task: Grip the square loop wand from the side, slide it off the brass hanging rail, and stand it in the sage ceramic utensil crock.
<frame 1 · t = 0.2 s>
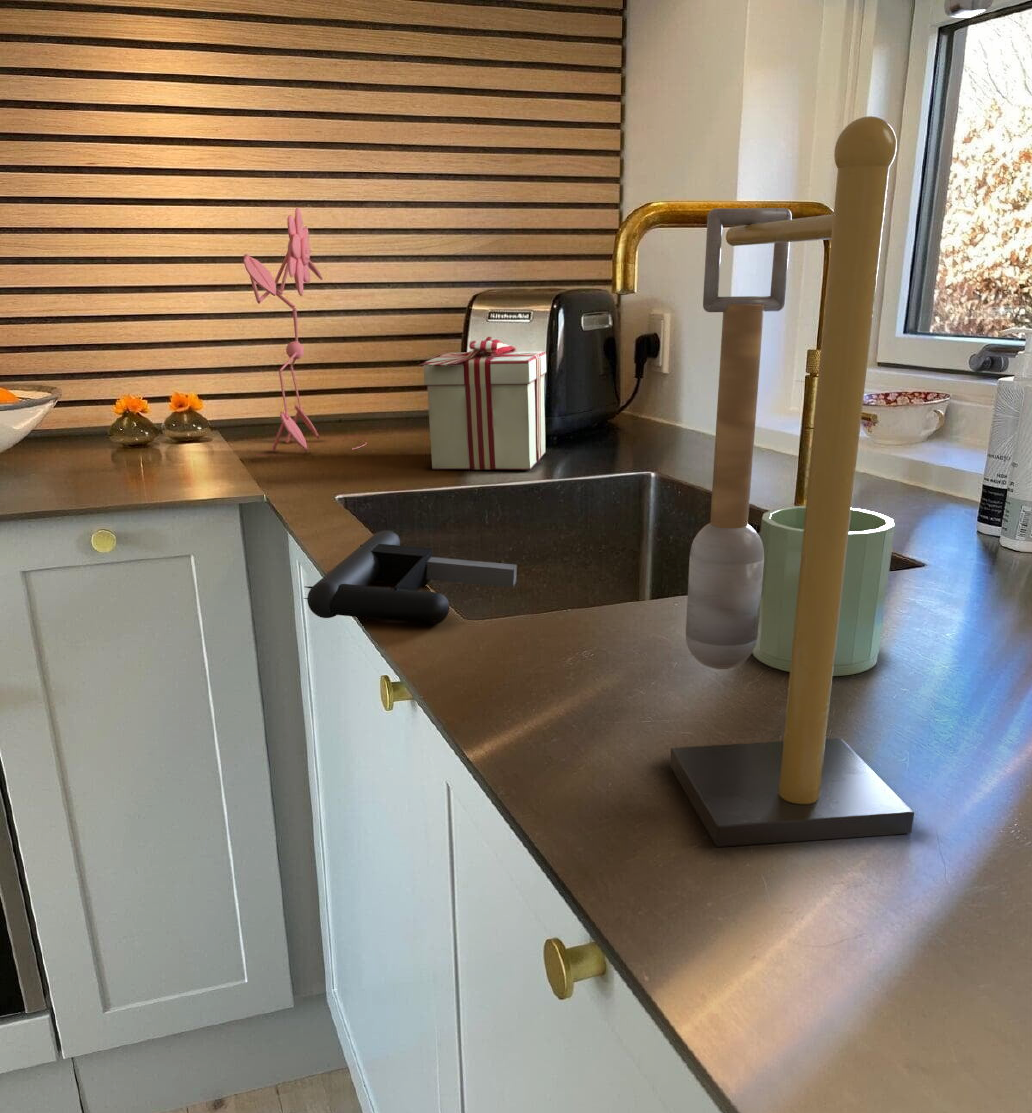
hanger: (782, 798, 56), on the countertop
square loop wand: (719, 667, 65), point 3 cm above the countertop, touching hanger
black frame with bar: (419, 594, 91), on the countertop
figurine: (321, 448, 168), on the countertop
crock: (813, 654, 76), on the countertop
gift box: (480, 464, 153), on the countertop
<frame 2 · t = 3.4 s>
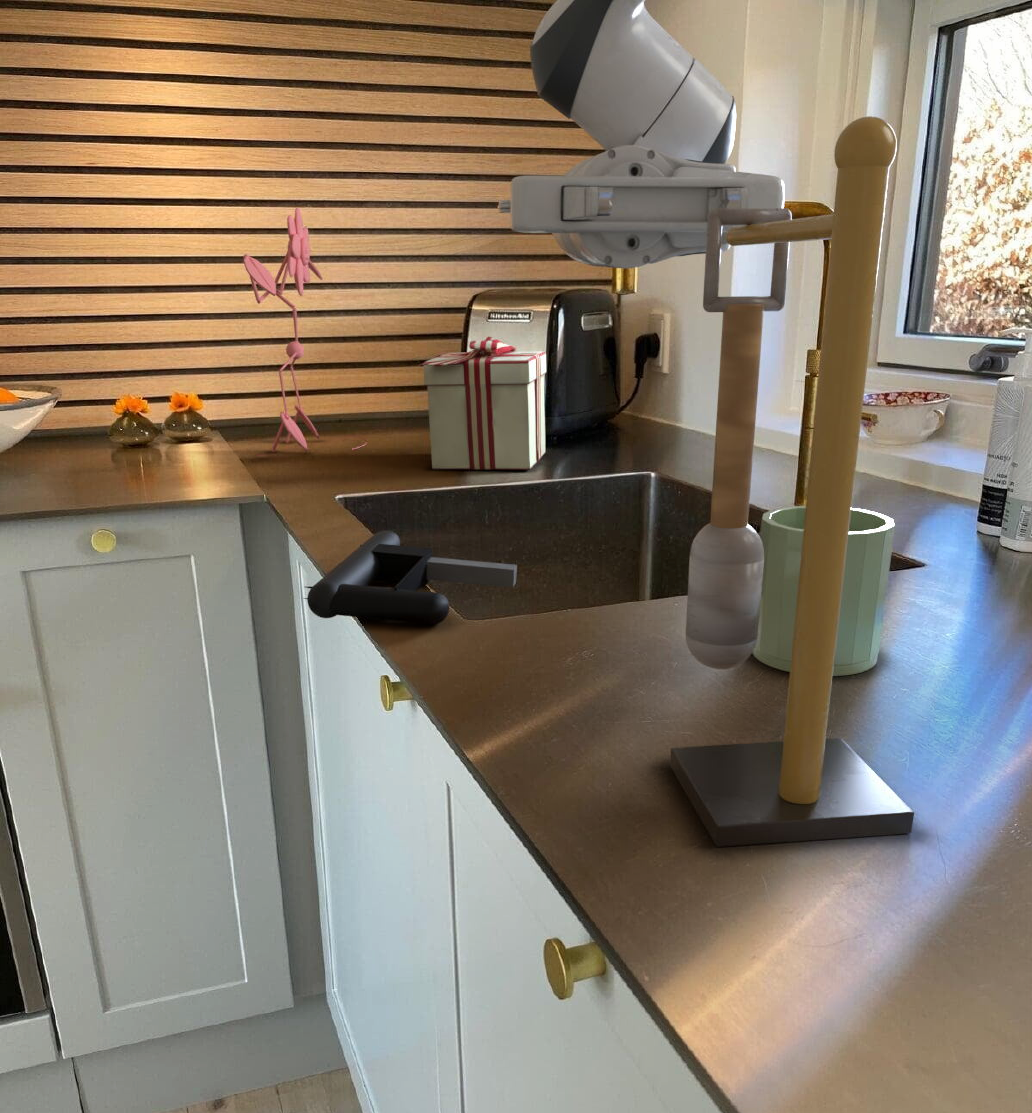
hand: (670, 201, 71), 30 cm above the countertop, tool horizontal, fingers open, 8 cm apart
nothing on the countertop moved.
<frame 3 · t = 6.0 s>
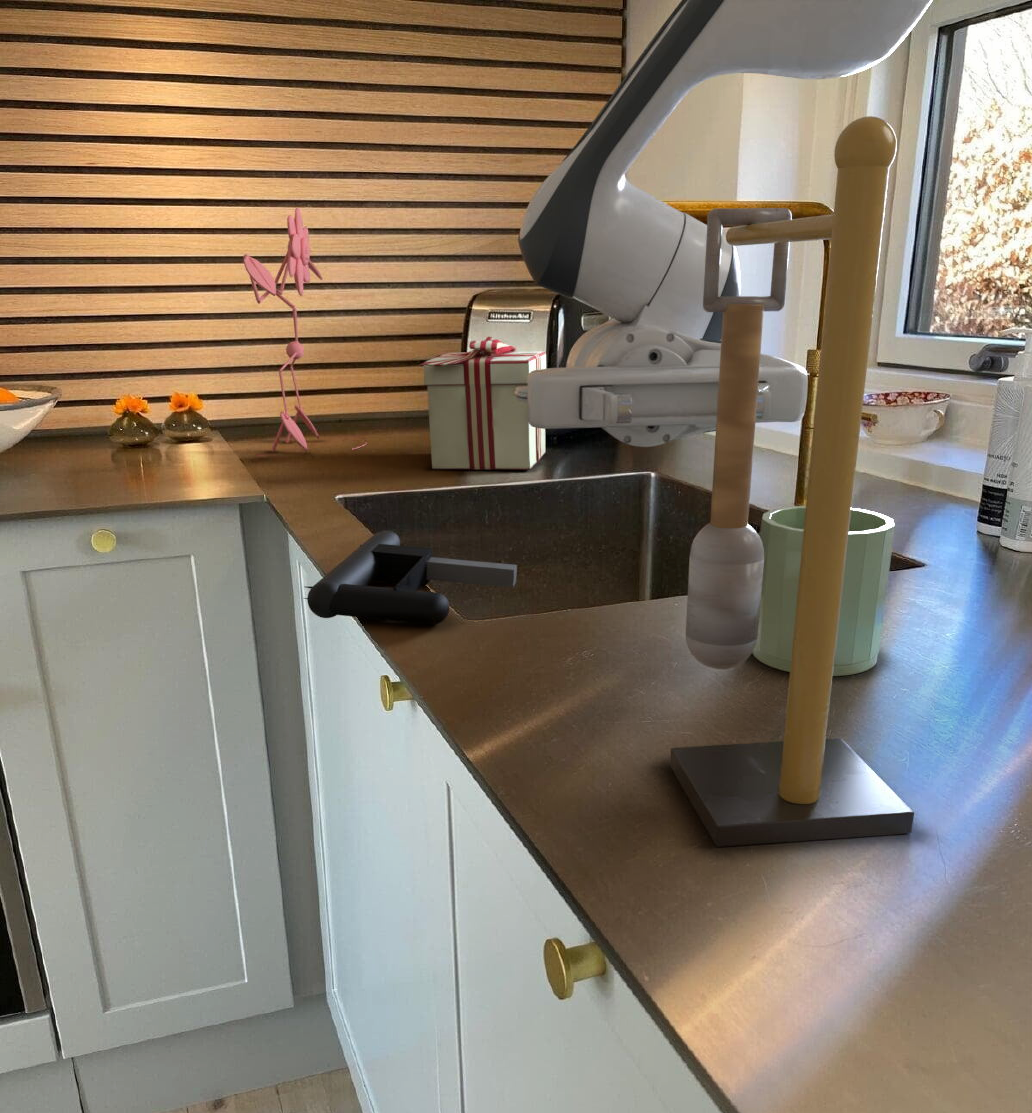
hand: (691, 408, 69), 18 cm above the countertop, tool horizontal, fingers open, 8 cm apart
nothing on the countertop moved.
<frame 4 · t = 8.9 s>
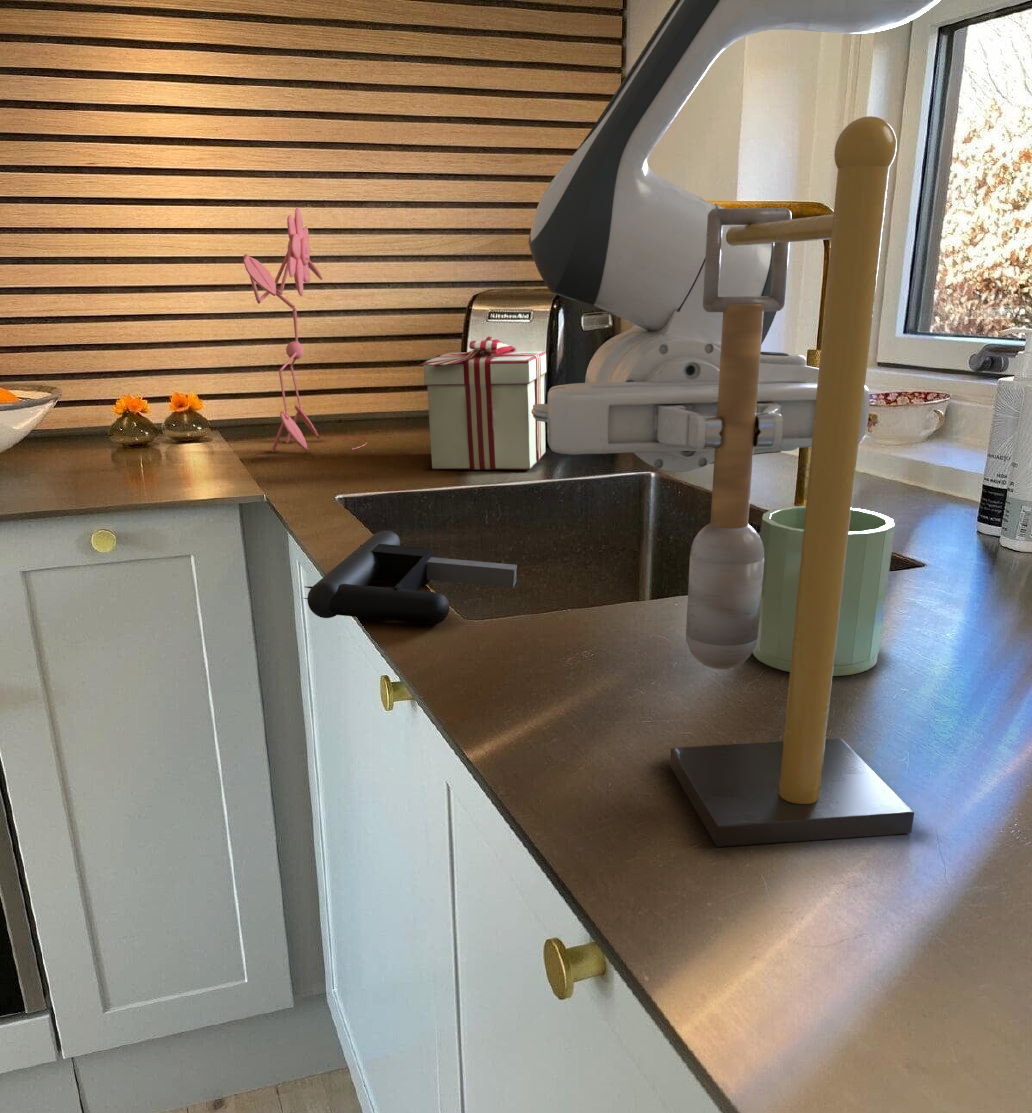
hand: (740, 432, 59), 18 cm above the countertop, tool horizontal, fingers closed on square loop wand, 2 cm apart
square loop wand: (719, 667, 65), point 3 cm above the countertop, touching gripper, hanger
everything else where it was.
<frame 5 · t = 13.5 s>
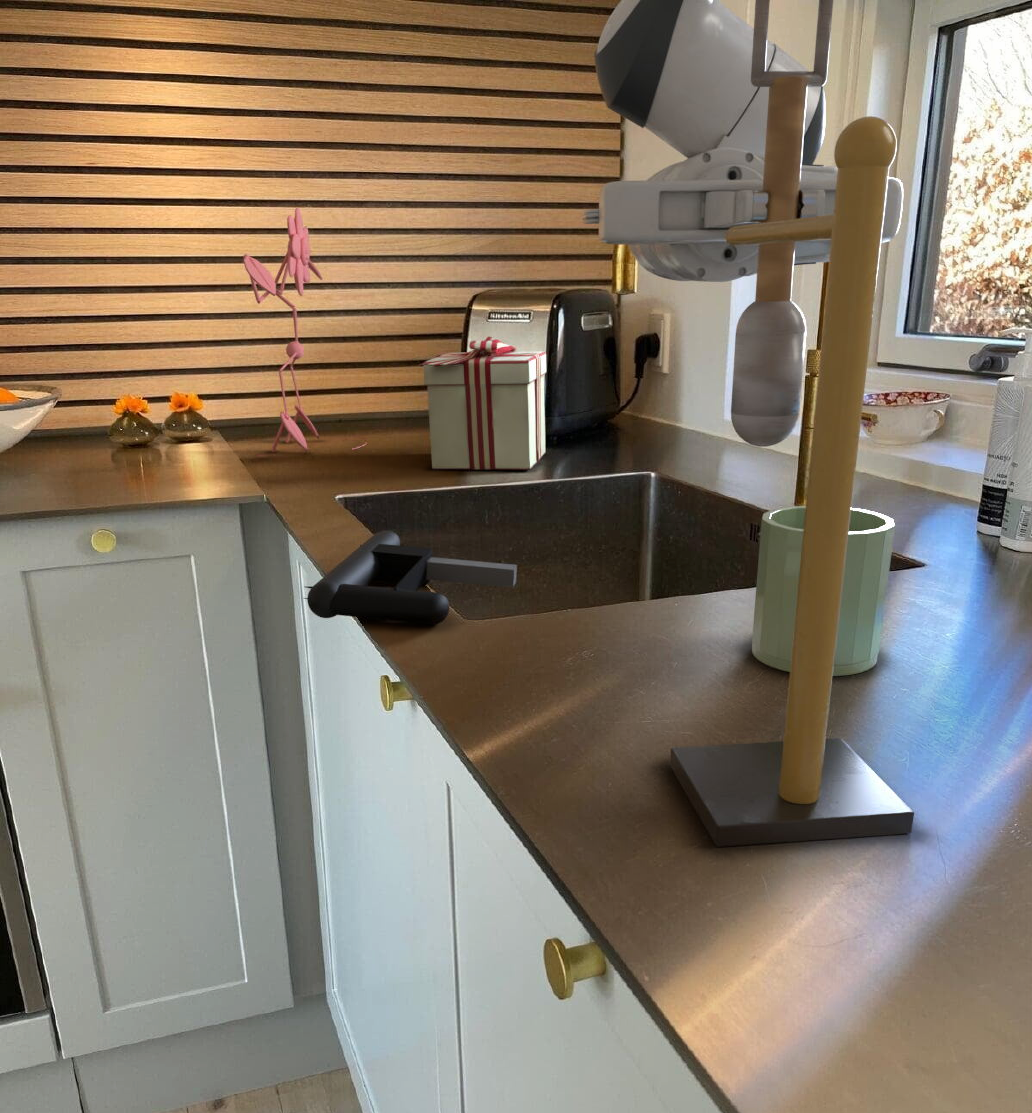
hand: (785, 205, 63), 30 cm above the countertop, tool horizontal, fingers closed on square loop wand, 2 cm apart
square loop wand: (762, 446, 70), point 15 cm above the countertop, touching gripper
everything else where it was.
when the fingers open (15 cm above the countertop, at t = 18.4 s): square loop wand stays where it is, resting on crock.
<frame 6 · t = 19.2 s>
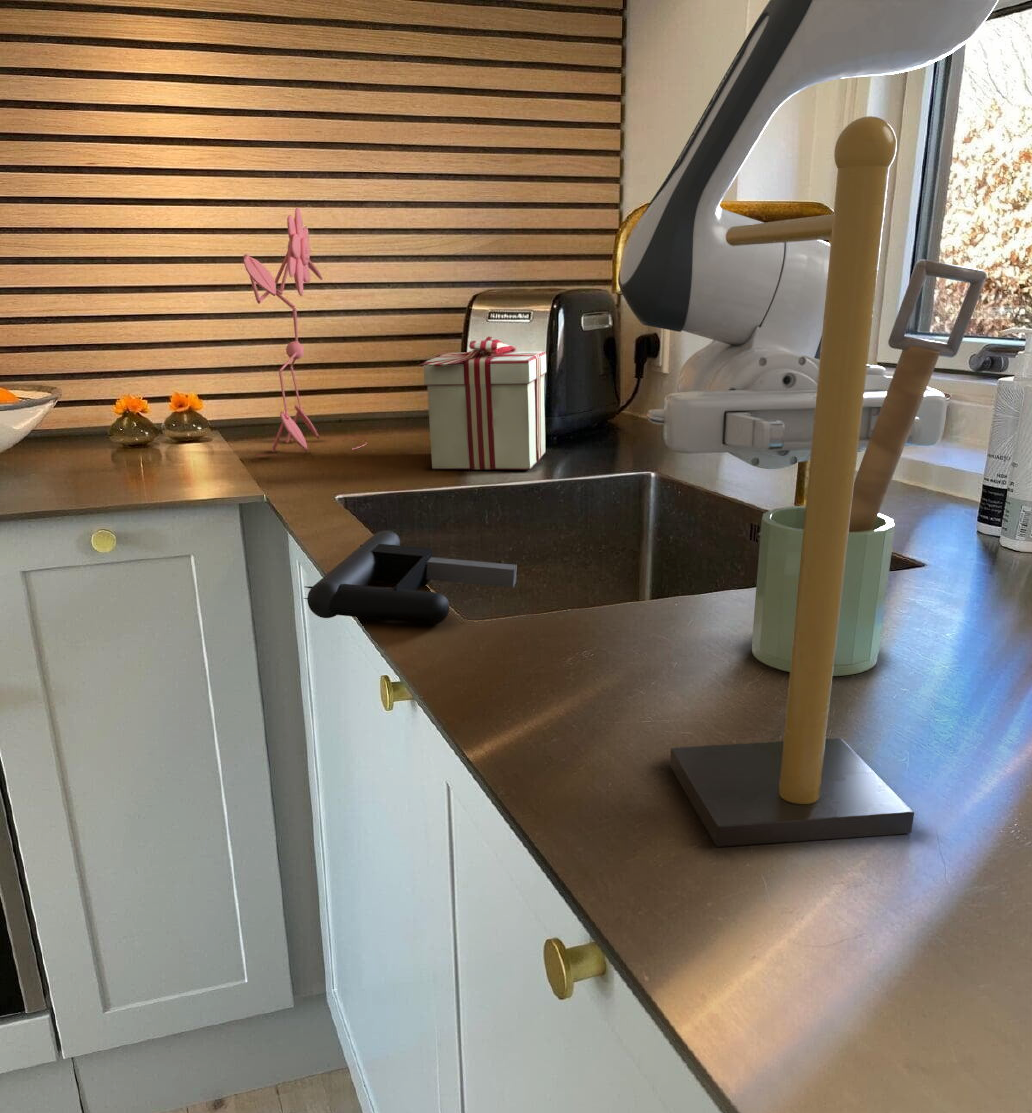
hand: (842, 434, 69), 16 cm above the countertop, tool horizontal, fingers open, 8 cm apart
square loop wand: (811, 642, 76), point 1 cm above the countertop, tilted 15°, touching crock
everything else where it was.
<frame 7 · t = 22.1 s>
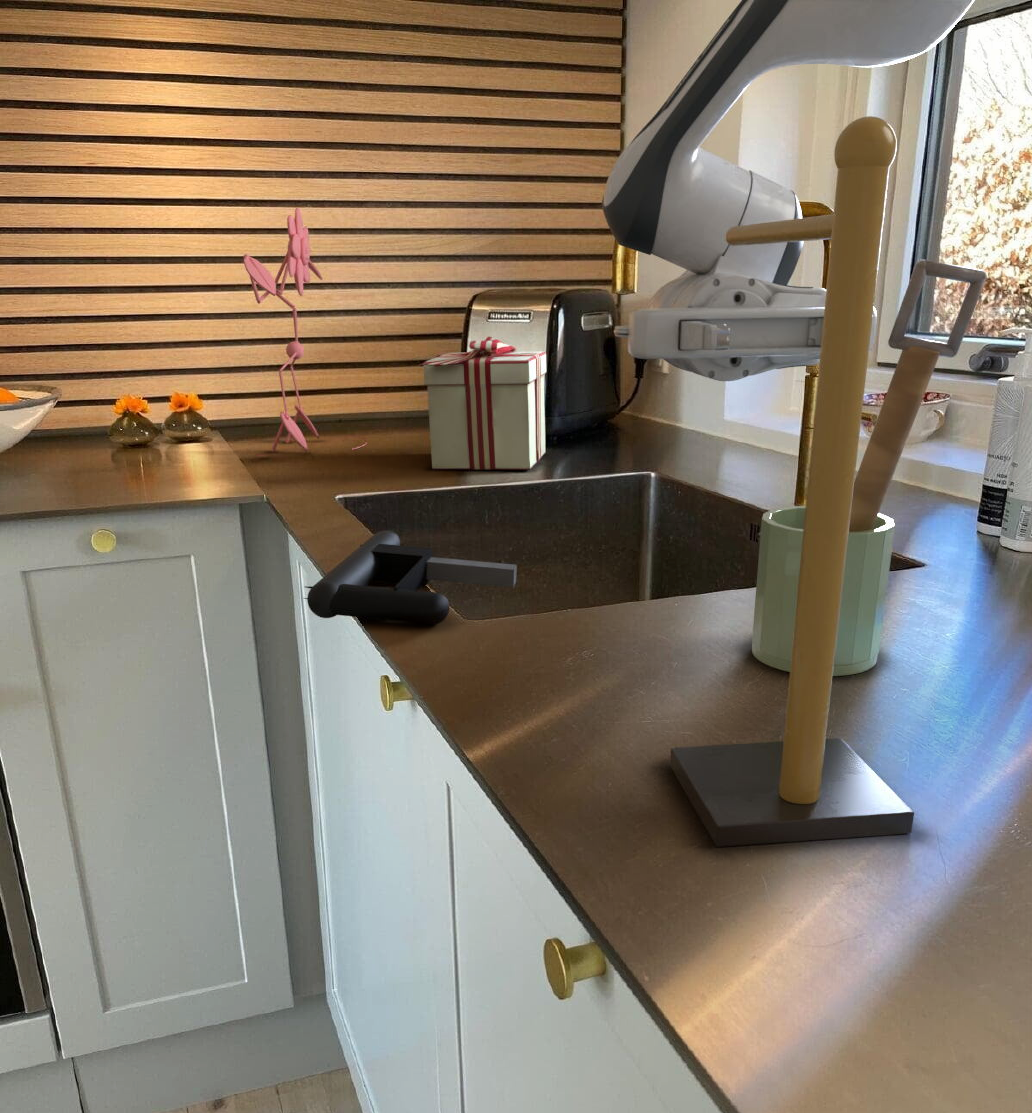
hand: (780, 336, 79), 21 cm above the countertop, tool horizontal, fingers open, 8 cm apart
nothing on the countertop moved.
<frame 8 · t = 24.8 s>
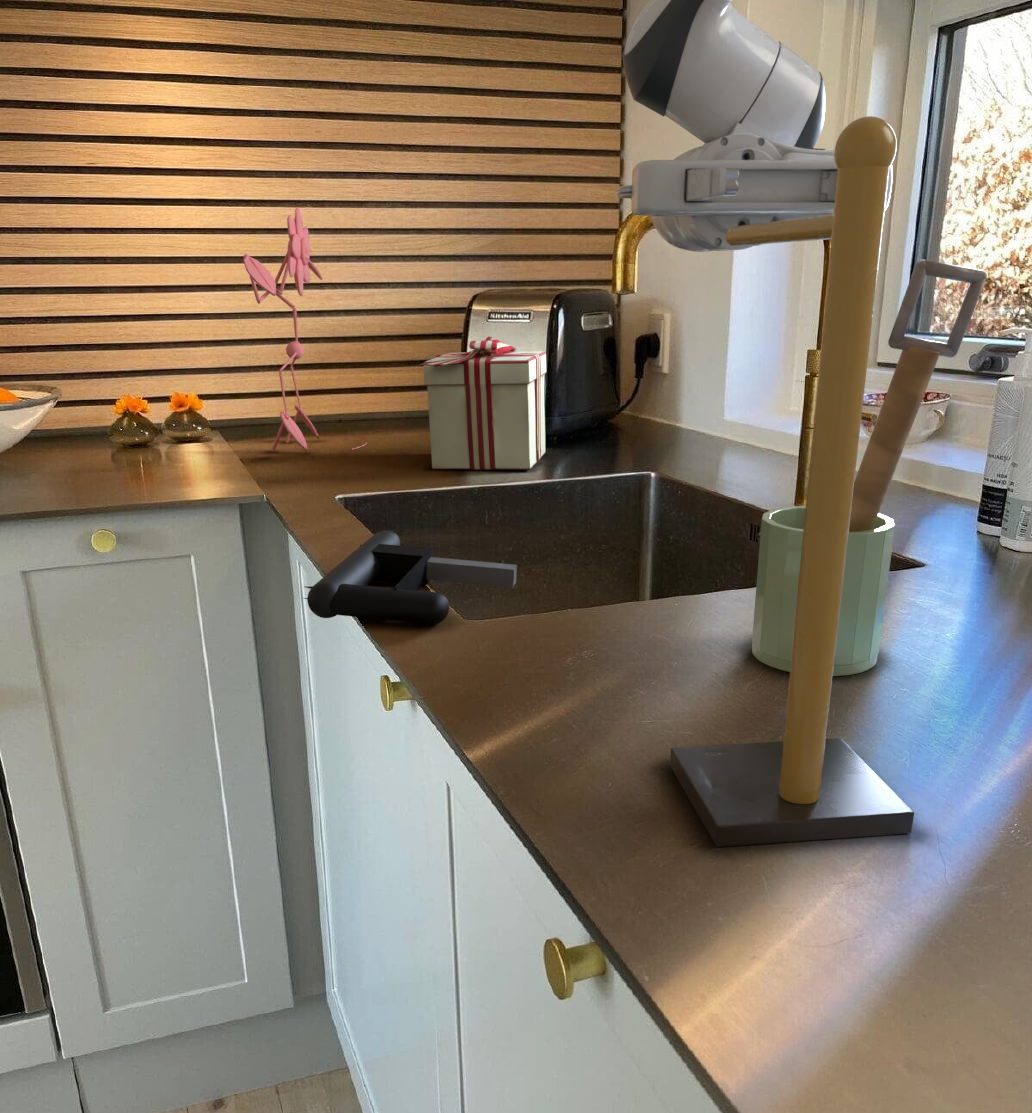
hand: (792, 181, 75), 32 cm above the countertop, tool horizontal, fingers open, 8 cm apart
nothing on the countertop moved.
at the end: square loop wand 0.1 cm off-centre in the crock, point 0.9 cm above the crock's base; square loop wand touching crock; the gripper is holding nothing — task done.
